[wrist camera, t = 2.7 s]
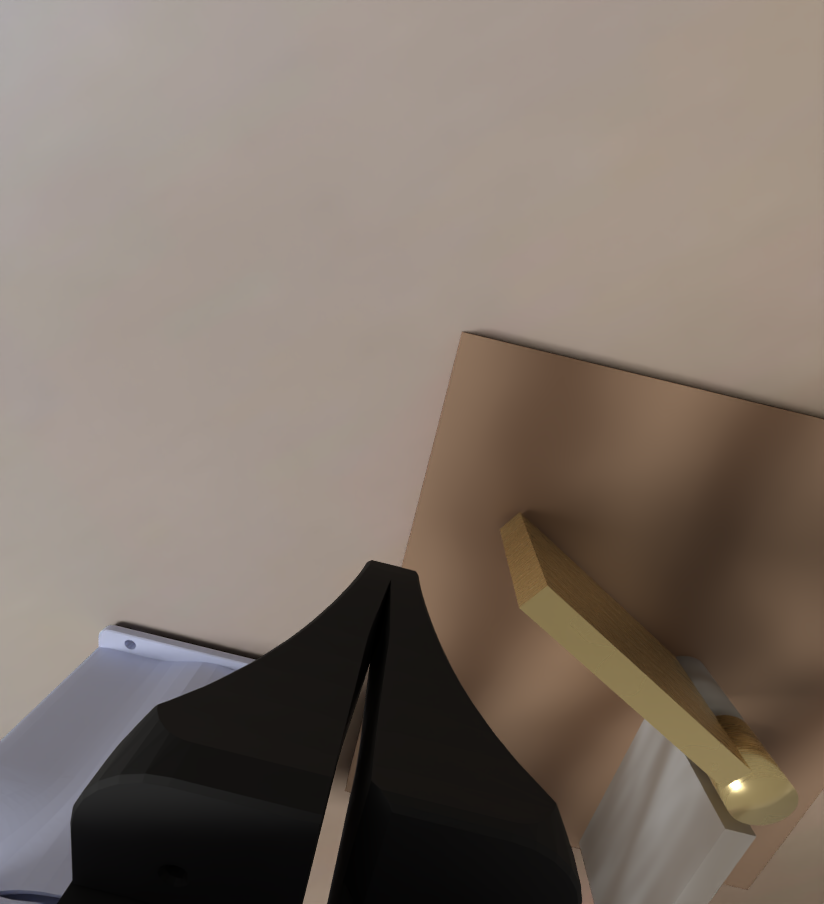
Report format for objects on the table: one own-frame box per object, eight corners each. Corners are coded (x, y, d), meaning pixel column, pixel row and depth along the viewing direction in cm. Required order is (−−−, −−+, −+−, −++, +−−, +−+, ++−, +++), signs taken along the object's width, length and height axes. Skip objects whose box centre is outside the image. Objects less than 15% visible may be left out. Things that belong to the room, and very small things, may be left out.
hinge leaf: (678, 709, 18) (752, 834, 13) (489, 537, 16) (505, 618, 12) (721, 682, 17) (812, 804, 13) (530, 502, 16) (561, 573, 11)
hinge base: (348, 774, 22) (317, 922, 16) (462, 331, 15) (470, 340, 10) (736, 869, 22) (830, 1049, 16) (1027, 467, 15) (1347, 552, 10)
